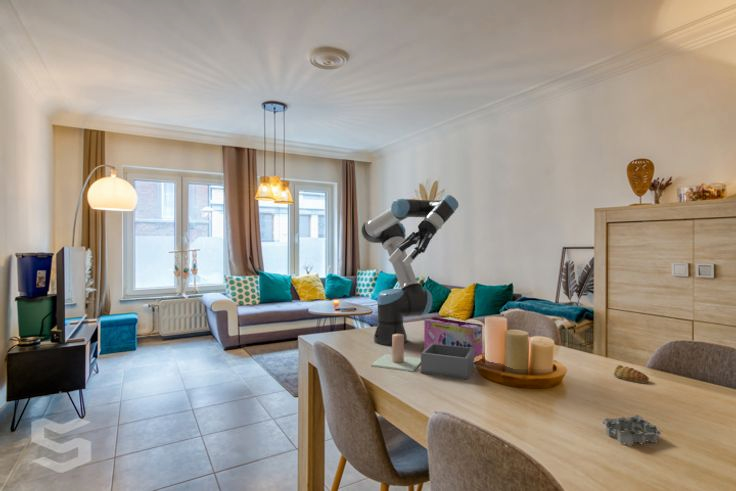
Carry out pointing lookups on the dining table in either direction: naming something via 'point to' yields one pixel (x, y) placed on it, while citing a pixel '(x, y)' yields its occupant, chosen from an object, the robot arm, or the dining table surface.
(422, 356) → the tub
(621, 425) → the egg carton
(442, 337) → the gum box
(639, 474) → the dining table surface
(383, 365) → the lid
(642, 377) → the pastry
